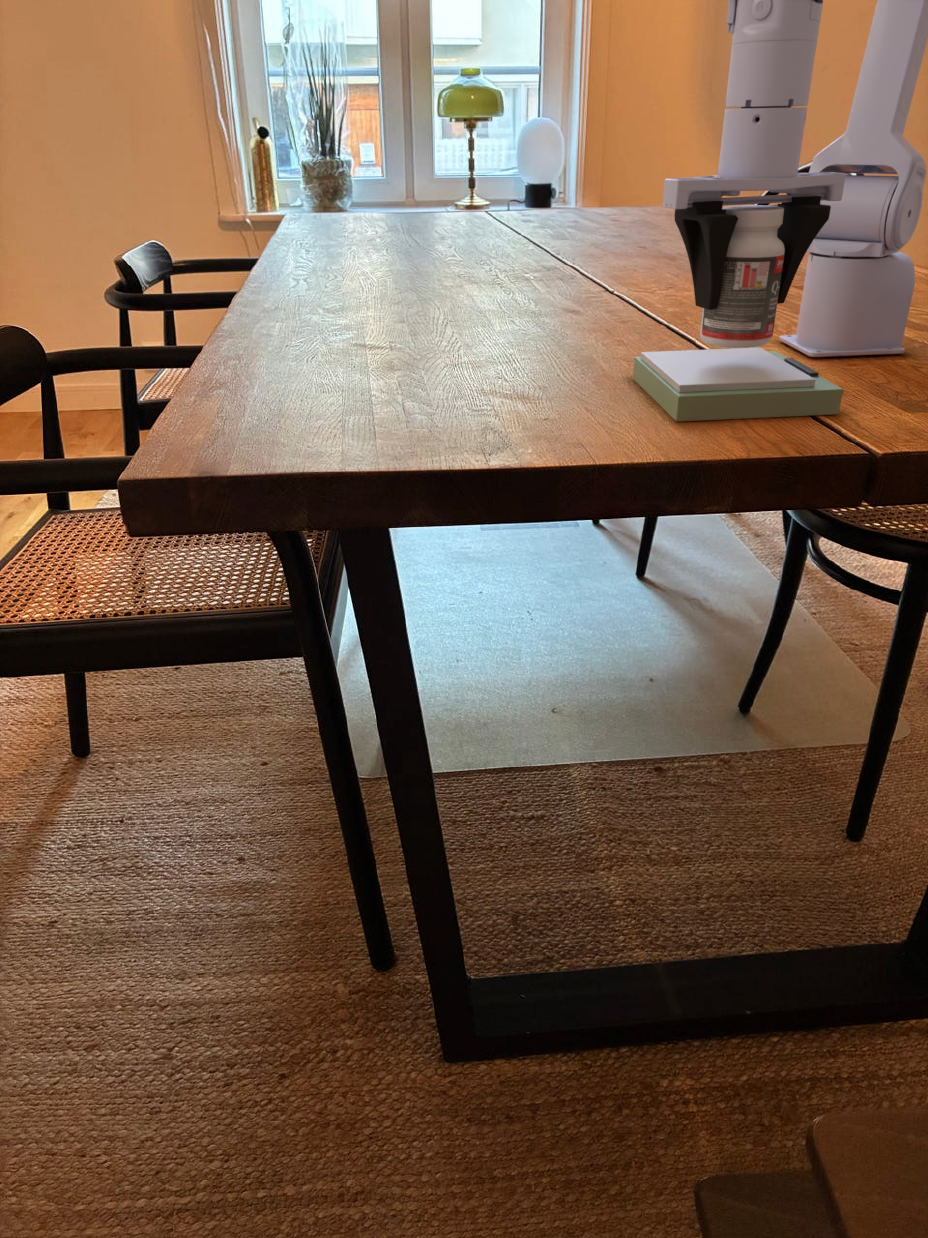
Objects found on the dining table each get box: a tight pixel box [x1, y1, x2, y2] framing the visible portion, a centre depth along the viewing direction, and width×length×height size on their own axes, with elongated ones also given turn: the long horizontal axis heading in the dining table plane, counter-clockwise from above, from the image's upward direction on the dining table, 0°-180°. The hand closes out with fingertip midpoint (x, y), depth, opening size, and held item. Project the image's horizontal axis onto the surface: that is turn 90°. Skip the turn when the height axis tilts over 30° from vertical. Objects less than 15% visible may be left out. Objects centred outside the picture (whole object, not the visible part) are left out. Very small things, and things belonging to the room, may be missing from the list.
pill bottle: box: [699, 204, 785, 349], centre depth 70 cm, size 6×6×10 cm
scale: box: [632, 346, 844, 423], centre depth 74 cm, size 13×13×3 cm
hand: (740, 304), depth 71 cm, fingers closed on pill bottle, 5 cm apart
